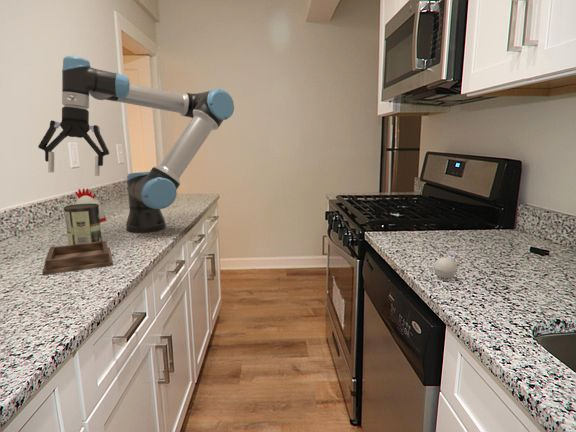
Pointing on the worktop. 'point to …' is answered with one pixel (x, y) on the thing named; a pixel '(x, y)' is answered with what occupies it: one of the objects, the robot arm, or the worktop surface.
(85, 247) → the can holder
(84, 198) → the kitchen timer
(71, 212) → the coffee can
